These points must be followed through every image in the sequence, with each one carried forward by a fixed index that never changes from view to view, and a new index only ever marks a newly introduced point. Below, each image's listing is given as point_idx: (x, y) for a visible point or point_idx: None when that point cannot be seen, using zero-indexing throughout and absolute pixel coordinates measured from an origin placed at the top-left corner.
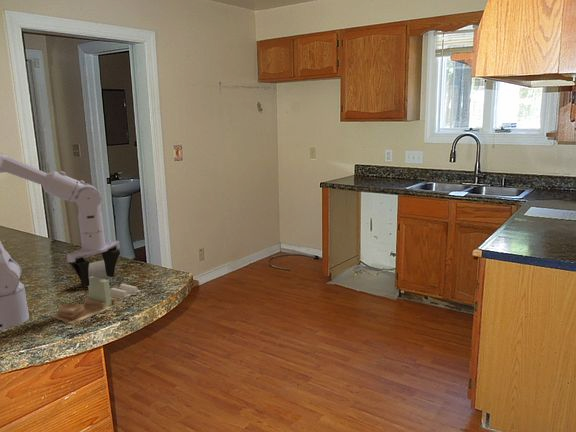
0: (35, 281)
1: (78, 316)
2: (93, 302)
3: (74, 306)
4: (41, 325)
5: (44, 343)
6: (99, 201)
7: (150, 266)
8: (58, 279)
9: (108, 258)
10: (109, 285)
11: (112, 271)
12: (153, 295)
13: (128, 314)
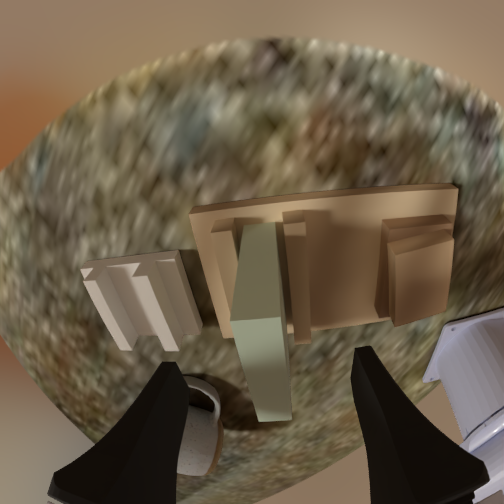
0: (270, 470)
1: (421, 219)
2: (308, 287)
3: (418, 277)
4: (462, 288)
5: None
6: None
7: (43, 386)
8: (234, 461)
9: (150, 483)
10: (234, 292)
11: (159, 388)
12: (57, 209)
13: (231, 87)
